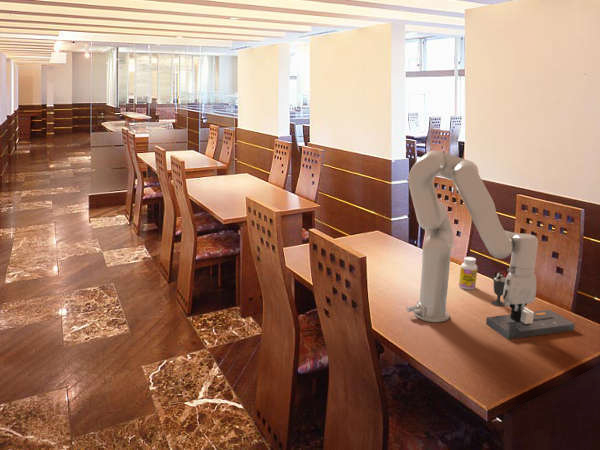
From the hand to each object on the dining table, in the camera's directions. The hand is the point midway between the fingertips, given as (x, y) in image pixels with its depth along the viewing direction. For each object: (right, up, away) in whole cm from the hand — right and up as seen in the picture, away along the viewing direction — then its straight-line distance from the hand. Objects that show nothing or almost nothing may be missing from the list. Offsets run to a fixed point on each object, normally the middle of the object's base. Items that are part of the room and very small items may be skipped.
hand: (515, 319), depth 171 cm
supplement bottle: (-4, +6, +38) cm, 39 cm away
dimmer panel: (+6, -3, +3) cm, 8 cm away
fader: (+4, 0, +1) cm, 4 cm away
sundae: (+3, +2, +22) cm, 22 cm away
